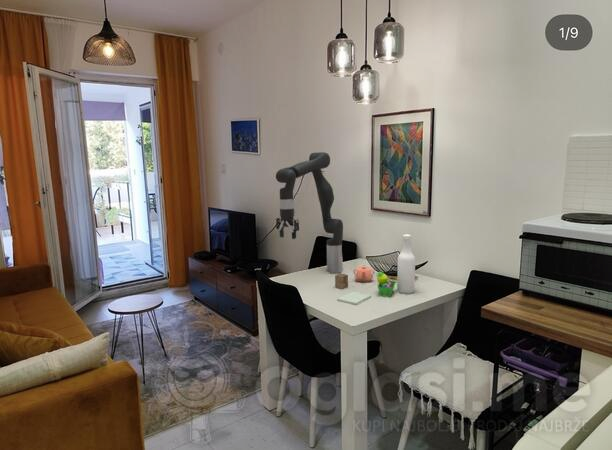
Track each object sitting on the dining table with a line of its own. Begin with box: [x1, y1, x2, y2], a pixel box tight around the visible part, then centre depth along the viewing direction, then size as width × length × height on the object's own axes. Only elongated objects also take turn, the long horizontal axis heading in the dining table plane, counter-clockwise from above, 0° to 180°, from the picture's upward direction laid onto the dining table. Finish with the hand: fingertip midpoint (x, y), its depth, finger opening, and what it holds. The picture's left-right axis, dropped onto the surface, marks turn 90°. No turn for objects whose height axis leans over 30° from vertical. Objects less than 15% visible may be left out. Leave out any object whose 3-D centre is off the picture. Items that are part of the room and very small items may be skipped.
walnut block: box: [334, 272, 349, 290], centre depth 223 cm, size 5×5×7 cm
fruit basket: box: [376, 271, 396, 297], centre depth 211 cm, size 11×9×11 cm
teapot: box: [353, 264, 375, 283], centre depth 234 cm, size 12×15×8 cm
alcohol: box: [396, 233, 416, 295], centre depth 212 cm, size 9×9×30 cm
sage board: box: [336, 291, 372, 306], centre depth 204 cm, size 14×11×1 cm
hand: (287, 238), depth 217 cm, fingers open, 8 cm apart
